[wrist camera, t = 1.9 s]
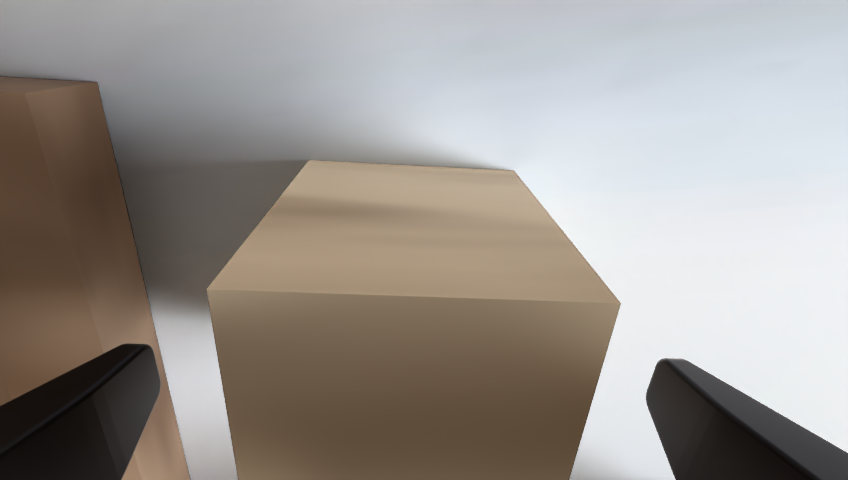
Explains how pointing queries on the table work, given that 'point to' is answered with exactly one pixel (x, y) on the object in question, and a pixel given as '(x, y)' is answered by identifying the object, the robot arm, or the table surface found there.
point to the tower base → (71, 255)
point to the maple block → (408, 330)
